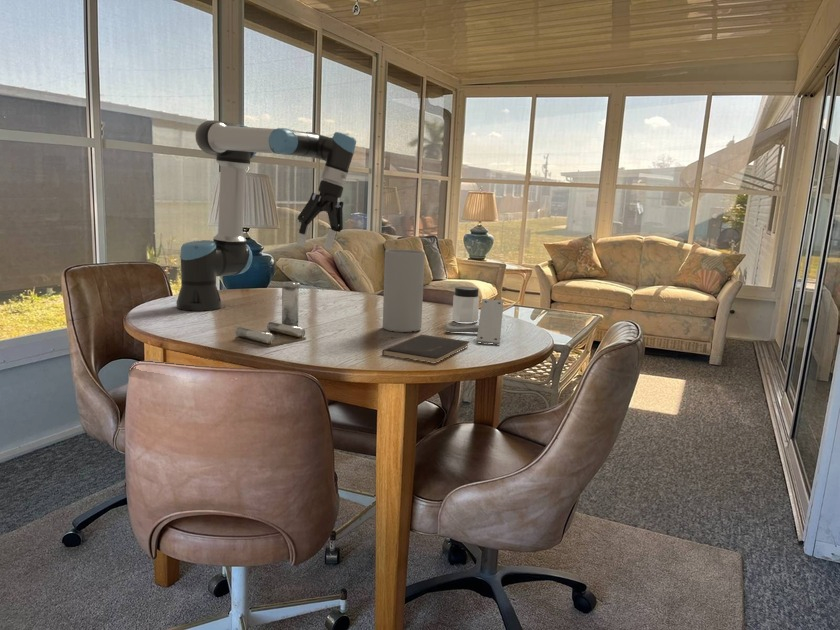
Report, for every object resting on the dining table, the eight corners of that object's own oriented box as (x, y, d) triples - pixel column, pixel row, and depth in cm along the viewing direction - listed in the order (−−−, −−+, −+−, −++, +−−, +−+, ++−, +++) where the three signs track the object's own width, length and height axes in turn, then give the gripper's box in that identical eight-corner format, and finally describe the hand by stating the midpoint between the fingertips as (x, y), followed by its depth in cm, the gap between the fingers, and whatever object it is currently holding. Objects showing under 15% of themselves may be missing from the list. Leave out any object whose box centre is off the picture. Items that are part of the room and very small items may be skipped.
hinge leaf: (234, 339, 179) (234, 327, 179) (273, 331, 191) (273, 320, 190) (268, 347, 171) (268, 335, 171) (306, 339, 183) (306, 327, 182)
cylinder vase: (384, 332, 197) (387, 252, 192) (380, 324, 209) (383, 249, 205) (424, 333, 199) (427, 253, 194) (418, 325, 211) (421, 250, 207)
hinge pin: (276, 326, 198) (276, 282, 196) (290, 324, 203) (290, 281, 201) (289, 329, 195) (290, 284, 193) (303, 327, 200) (304, 283, 197)
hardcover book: (468, 349, 183) (469, 341, 182) (436, 366, 162) (437, 357, 162) (418, 341, 189) (419, 334, 189) (381, 357, 169) (382, 348, 169)
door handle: (497, 362, 191) (501, 319, 206) (499, 342, 186) (503, 300, 201) (440, 356, 194) (448, 314, 209) (440, 336, 188) (448, 295, 203)
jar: (476, 320, 225) (478, 287, 223) (478, 324, 217) (481, 290, 215) (451, 319, 225) (453, 285, 222) (452, 323, 217) (454, 289, 214)
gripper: (316, 177, 188) (297, 245, 191) (364, 193, 210) (346, 254, 213) (298, 171, 192) (279, 238, 195) (346, 187, 214) (329, 247, 217)
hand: (314, 246), depth 204 cm, fingers open, 13 cm apart
